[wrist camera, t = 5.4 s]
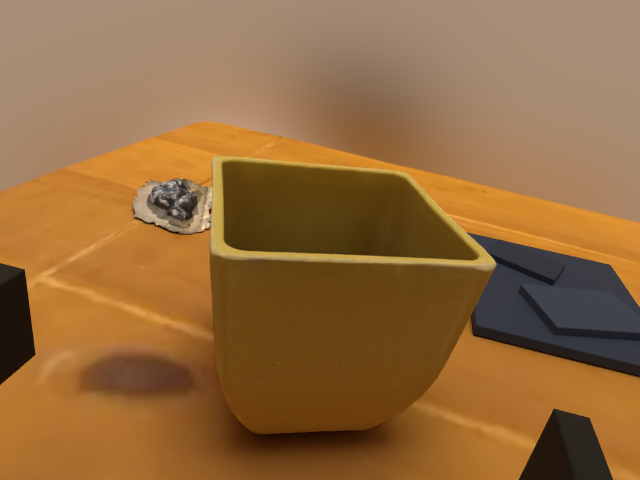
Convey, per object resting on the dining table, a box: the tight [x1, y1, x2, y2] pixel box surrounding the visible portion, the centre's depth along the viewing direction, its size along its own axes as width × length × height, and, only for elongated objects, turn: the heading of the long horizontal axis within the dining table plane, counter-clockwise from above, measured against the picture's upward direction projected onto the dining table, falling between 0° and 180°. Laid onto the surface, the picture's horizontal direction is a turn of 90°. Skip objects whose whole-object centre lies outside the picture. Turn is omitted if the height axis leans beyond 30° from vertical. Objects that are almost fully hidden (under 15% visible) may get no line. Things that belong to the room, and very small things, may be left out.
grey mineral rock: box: [132, 179, 212, 234], centre depth 36 cm, size 7×8×2 cm
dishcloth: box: [466, 232, 640, 376], centre depth 32 cm, size 11×13×1 cm
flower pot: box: [210, 156, 496, 434], centre depth 20 cm, size 9×9×9 cm
